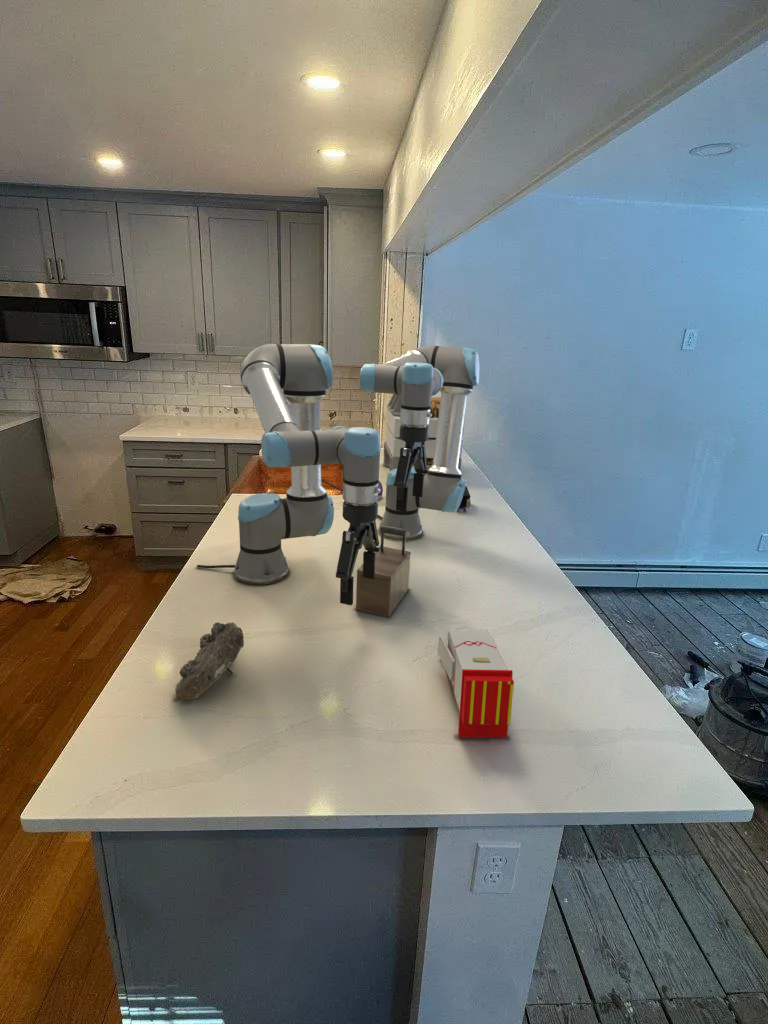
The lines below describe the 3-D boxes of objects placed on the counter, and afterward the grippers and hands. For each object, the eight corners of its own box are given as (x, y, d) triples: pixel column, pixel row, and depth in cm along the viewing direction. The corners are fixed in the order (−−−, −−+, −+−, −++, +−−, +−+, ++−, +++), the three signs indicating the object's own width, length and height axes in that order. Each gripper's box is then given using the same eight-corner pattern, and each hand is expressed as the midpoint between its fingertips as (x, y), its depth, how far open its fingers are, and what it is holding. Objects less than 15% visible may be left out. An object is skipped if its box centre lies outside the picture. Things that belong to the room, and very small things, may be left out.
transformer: (382, 463, 289) (386, 382, 275) (445, 464, 293) (451, 384, 279) (390, 482, 257) (394, 392, 243) (460, 483, 261) (468, 394, 247)
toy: (488, 613, 130) (523, 677, 101) (484, 667, 133) (517, 744, 104) (435, 612, 130) (455, 676, 101) (432, 666, 133) (451, 743, 103)
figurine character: (470, 516, 223) (465, 500, 237) (473, 499, 220) (467, 484, 233) (453, 516, 223) (449, 500, 236) (455, 498, 220) (451, 483, 233)
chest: (377, 583, 163) (379, 549, 160) (408, 589, 161) (410, 555, 157) (355, 609, 149) (356, 573, 145) (389, 616, 146) (390, 580, 142)
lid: (379, 549, 160) (381, 521, 158) (411, 554, 158) (412, 527, 155) (356, 573, 145) (357, 543, 142) (390, 580, 142) (392, 549, 140)
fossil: (197, 625, 130) (244, 594, 125) (226, 653, 133) (272, 624, 128) (153, 694, 111) (206, 661, 106) (188, 725, 114) (241, 695, 109)
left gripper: (355, 522, 109) (352, 619, 116) (395, 487, 131) (391, 571, 138) (319, 516, 111) (319, 612, 118) (364, 483, 133) (362, 565, 140)
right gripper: (413, 435, 133) (407, 519, 140) (441, 419, 155) (435, 492, 162) (383, 431, 136) (379, 514, 143) (415, 416, 158) (411, 488, 165)
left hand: (358, 590), depth 128 cm, fingers open, 13 cm apart
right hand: (409, 503), depth 153 cm, fingers open, 13 cm apart
